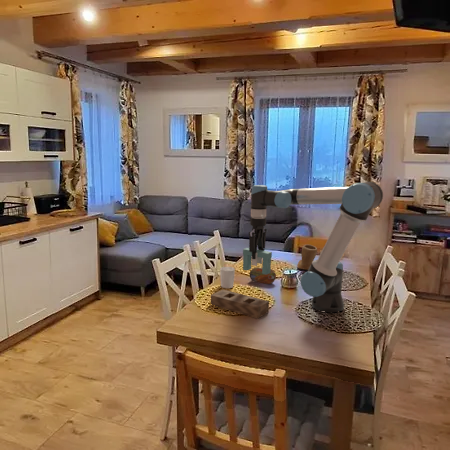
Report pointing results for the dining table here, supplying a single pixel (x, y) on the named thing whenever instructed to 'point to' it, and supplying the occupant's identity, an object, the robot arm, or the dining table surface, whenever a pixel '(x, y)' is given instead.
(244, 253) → the clip
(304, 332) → the dining table surface
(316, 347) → the dining table surface
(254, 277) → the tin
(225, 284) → the white cup
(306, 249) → the stone cup
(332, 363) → the dining table surface
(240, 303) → the wooden socket block
